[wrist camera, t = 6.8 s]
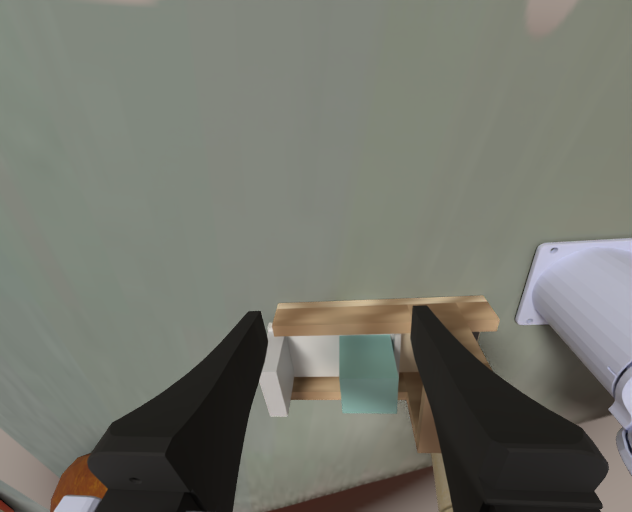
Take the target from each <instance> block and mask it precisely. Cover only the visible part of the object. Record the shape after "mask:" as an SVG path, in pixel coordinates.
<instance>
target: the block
mask: <svg viewBox="0 0 632 512" xmlns="http://www.w3.org/2000/svg"><path fill="white" fill-rule="evenodd" d="M339 382H340V391H341V401H342V411H343V413H396V414H397V401H398V382H399V377H398V372H397V367H396V362H395V357H394V352H393V347H392V342H391V337H390V335H348V336H339Z"/></svg>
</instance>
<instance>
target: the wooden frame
mask: <svg viewBox="0 0 632 512" xmlns="http://www.w3.org/2000/svg"><path fill="white" fill-rule="evenodd" d="M418 305H427V306H428V307H429V308H430V309H431V311H432V312H433V313H434V314H435V315H436V317H437V318H438V319H439V320H440V321H441V322H442V324H443V325H444V326H445V327H446V328H447V329H448V330H449V331H450V332H451V333H452V334H453V335H454V336H455V338H456V339H457V340H458V341H459V342H460V343H461V344H462V345H463V346H464V347H465V348H466V349H468V350H469V351H470V352H471V353H472V354H473V355H474V356H475V357H476V358H477V359H478V360H480V361H481V362H482V363H483V364H484V365H485V366H487V367H488V368H489V369H490V370H492V369H491V367H490V365H489V364H488V362H487V360H486V358H485V356H484V354H483V352H482V351H481V349H480V347H479V345H478V338H479V334H480V332H485V331H497V328H498V324H499V321H500V319H499V318H498V316H497V315H496V314H495V312H494V311H493V309H492V308H491V306H490V305H489V303H488V302H487V300H486V299H485V297H484V296H458V297H432V298H406V299H379V300H353V301H327V302H300V303H278V306H277V310H276V313H275V317H274V320H273V324H272V329H273V333H274V337H280V336H321V335H362V334H401V346H400V364H399V382H398V400H407V404H408V409H409V414H410V418H411V423H412V428H413V432H414V437H415V442H416V447H417V451H418V453H441V449H440V445H439V440H438V436H437V431H436V427H435V423H434V418H433V414H432V411H431V407H430V404H429V401H428V398H427V395H426V392H425V389H424V386H423V383H422V380H421V377H420V374H419V371H418V368H417V365H416V362H415V359H414V354H413V350H412V345H411V340H410V334H411V321H412V308H413V306H418ZM291 400H341V391H340V382H339V377H294V382H293V388H292V394H291Z"/></svg>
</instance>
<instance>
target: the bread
mask: <svg viewBox="0 0 632 512" xmlns="http://www.w3.org/2000/svg"><path fill="white" fill-rule="evenodd" d="M90 454H91V453H89V454H86V455H84V456H81V457H78V458H77V459H76V460H75V461H74V462H73V463H72V464H71V465H70V466H69V467H68V468H67V469H66V471H65V472H64V473H63V474H62V476H61V478H60V481H59V483H58V485H57V487H56V490H55V492H54V495H53V497H52V499H51V509H50V512H54V510H55V509H56V507H57V506H58V504H59V503H60V501H61V500H62V498H63V497H64V496H66V495H83V496H95V497H98V498H101V499H102V498H103V497H104V495H105V493H106V491H107V490H108V489H107V488H106V487H105V486H104V485H103V484H102V483H101V482H100V480H99V479H98V478H97V477H96V476H95V475H94V474H93V473H92V472H91V471H90V470H89V468H88V464H87V460H88V457H89V456H90Z"/></svg>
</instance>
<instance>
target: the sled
mask: <svg viewBox="0 0 632 512" xmlns="http://www.w3.org/2000/svg"><path fill="white" fill-rule="evenodd" d="M272 324H273V323H269V325H268V334H267V338H268V347H267V353H266V358H265V363H264V366H263V370H262V373H261V376H260V379H259V382H260V385H261V388H262V391H263V395H264V398H265V401H266V404H267V407H268V411H269V414H270V417H288V413H289V407H290V400H291V394H292V388H293V382H294V377H339V336H348V335H321V336H280V337H274V333H273V329H272ZM362 335H390V337H391V342H392V347H393V352H394V357H395V362H396V367H397V372H398V377H399V364H400V346H401V334H362Z"/></svg>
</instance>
